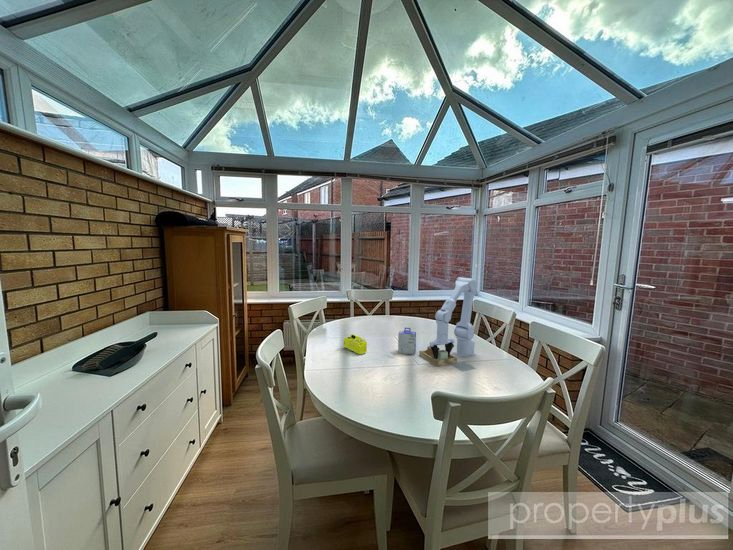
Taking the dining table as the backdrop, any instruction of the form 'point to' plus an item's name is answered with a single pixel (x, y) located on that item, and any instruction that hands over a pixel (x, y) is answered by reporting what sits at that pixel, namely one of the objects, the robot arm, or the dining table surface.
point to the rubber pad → (463, 366)
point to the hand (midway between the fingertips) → (441, 357)
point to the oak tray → (450, 360)
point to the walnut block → (430, 352)
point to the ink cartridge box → (407, 341)
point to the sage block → (442, 355)
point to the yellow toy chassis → (356, 344)
